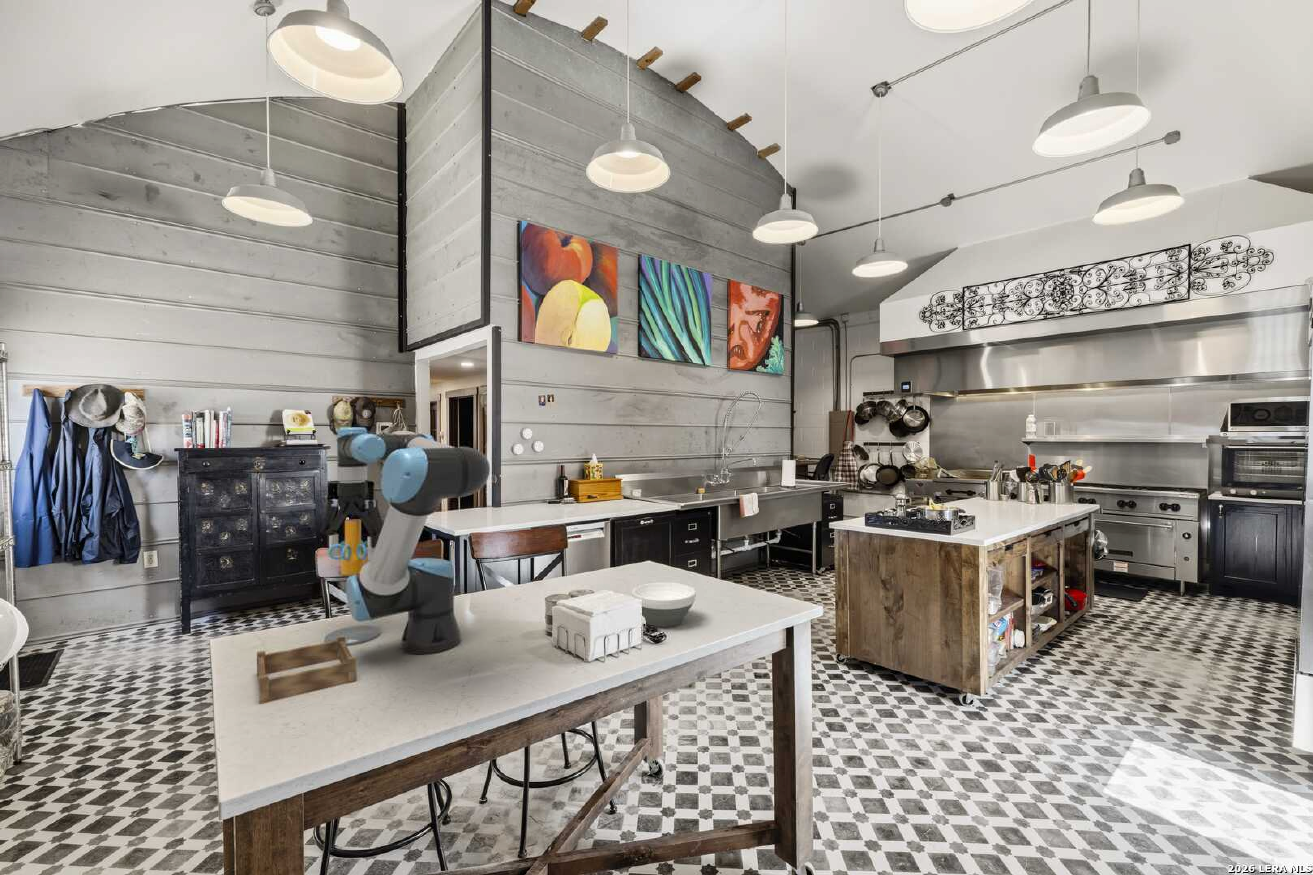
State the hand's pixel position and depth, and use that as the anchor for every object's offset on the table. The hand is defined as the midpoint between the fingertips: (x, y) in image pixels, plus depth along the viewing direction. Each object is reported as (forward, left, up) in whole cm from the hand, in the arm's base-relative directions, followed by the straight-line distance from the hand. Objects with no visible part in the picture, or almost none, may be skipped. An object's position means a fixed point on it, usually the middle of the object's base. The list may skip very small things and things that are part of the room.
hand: (352, 558), depth 159 cm
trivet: (0, 0, -22) cm, 22 cm away
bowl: (-86, -25, -23) cm, 92 cm away
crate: (-7, +26, -22) cm, 35 cm away
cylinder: (0, 0, -4) cm, 4 cm away
